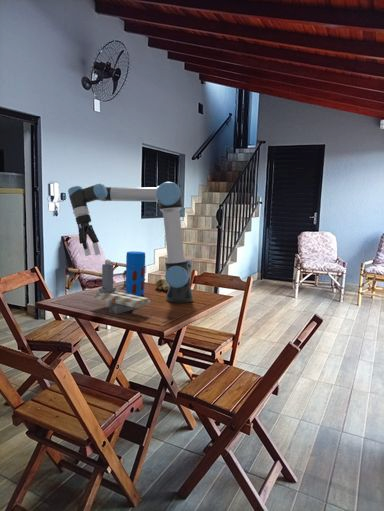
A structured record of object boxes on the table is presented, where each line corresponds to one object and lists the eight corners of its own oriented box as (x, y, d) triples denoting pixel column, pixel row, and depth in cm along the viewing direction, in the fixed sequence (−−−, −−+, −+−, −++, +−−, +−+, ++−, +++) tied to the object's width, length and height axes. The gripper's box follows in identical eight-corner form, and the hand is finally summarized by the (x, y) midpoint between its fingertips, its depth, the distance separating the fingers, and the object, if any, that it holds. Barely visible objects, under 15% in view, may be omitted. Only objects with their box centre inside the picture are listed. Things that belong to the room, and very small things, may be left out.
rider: (98, 294, 184) (99, 259, 182) (110, 292, 190) (110, 258, 188) (104, 296, 182) (104, 260, 179) (115, 293, 188) (116, 259, 186)
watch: (121, 285, 240) (121, 269, 239) (132, 284, 245) (132, 268, 244) (124, 287, 236) (125, 270, 235) (136, 286, 240) (136, 269, 239)
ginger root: (162, 283, 247) (164, 272, 245) (180, 292, 239) (183, 281, 237) (146, 287, 235) (148, 275, 232) (165, 297, 227) (168, 285, 224)
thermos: (147, 294, 219) (149, 252, 216) (135, 297, 210) (137, 254, 207) (133, 291, 225) (135, 250, 222) (121, 294, 216) (122, 252, 213)
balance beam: (92, 308, 184) (92, 292, 183) (110, 303, 194) (110, 288, 193) (134, 319, 169) (135, 301, 168) (151, 313, 179) (151, 297, 178)
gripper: (85, 219, 206) (95, 256, 206) (65, 216, 181) (76, 257, 181) (97, 215, 205) (107, 252, 205) (79, 211, 180) (91, 253, 180)
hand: (93, 255), depth 193 cm, fingers open, 13 cm apart
